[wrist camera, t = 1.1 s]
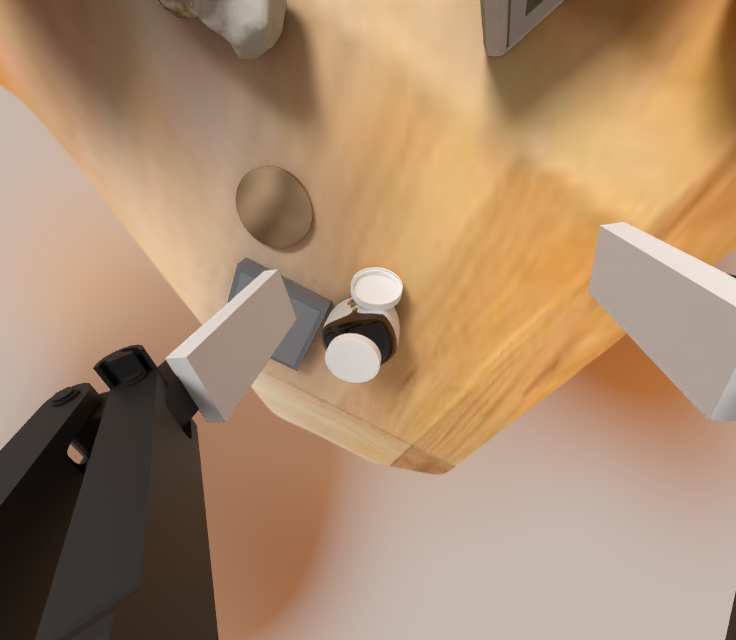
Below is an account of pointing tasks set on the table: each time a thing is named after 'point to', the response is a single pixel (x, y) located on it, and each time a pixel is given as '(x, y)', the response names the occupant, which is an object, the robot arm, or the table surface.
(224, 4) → the ceramic sculpture
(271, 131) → the table surface
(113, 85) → the table surface
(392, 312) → the spread jar
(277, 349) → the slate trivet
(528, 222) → the table surface
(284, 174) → the oak coaster
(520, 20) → the digital clock
